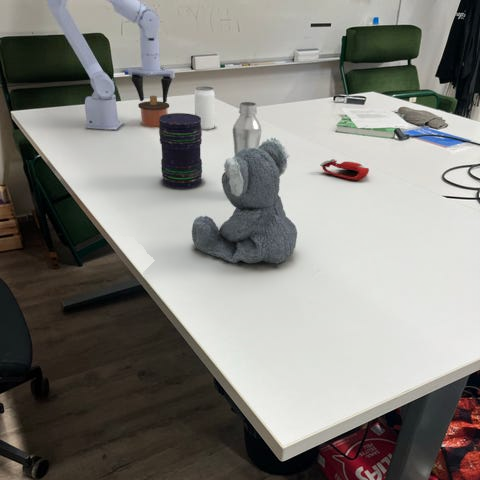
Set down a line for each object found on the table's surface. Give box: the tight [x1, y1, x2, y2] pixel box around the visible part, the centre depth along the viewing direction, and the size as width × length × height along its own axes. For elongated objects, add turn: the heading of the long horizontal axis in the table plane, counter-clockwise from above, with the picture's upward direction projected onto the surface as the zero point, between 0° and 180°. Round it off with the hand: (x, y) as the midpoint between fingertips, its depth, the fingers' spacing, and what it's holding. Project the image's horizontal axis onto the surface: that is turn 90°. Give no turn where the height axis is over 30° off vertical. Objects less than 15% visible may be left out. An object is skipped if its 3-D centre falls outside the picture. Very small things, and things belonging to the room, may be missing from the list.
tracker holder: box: [319, 158, 370, 181], centre depth 125 cm, size 12×4×10 cm
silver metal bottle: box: [232, 101, 263, 157], centre depth 107 cm, size 6×7×20 cm
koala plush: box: [191, 137, 298, 265], centre depth 85 cm, size 17×18×20 cm
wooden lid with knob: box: [137, 95, 170, 110], centre depth 156 cm, size 10×10×3 cm
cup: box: [140, 108, 169, 128], centre depth 159 cm, size 9×9×6 cm
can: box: [194, 85, 216, 131], centre depth 156 cm, size 6×6×12 cm
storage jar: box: [158, 112, 203, 190], centre depth 114 cm, size 10×10×15 cm
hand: (153, 101), depth 156 cm, fingers open, 7 cm apart
